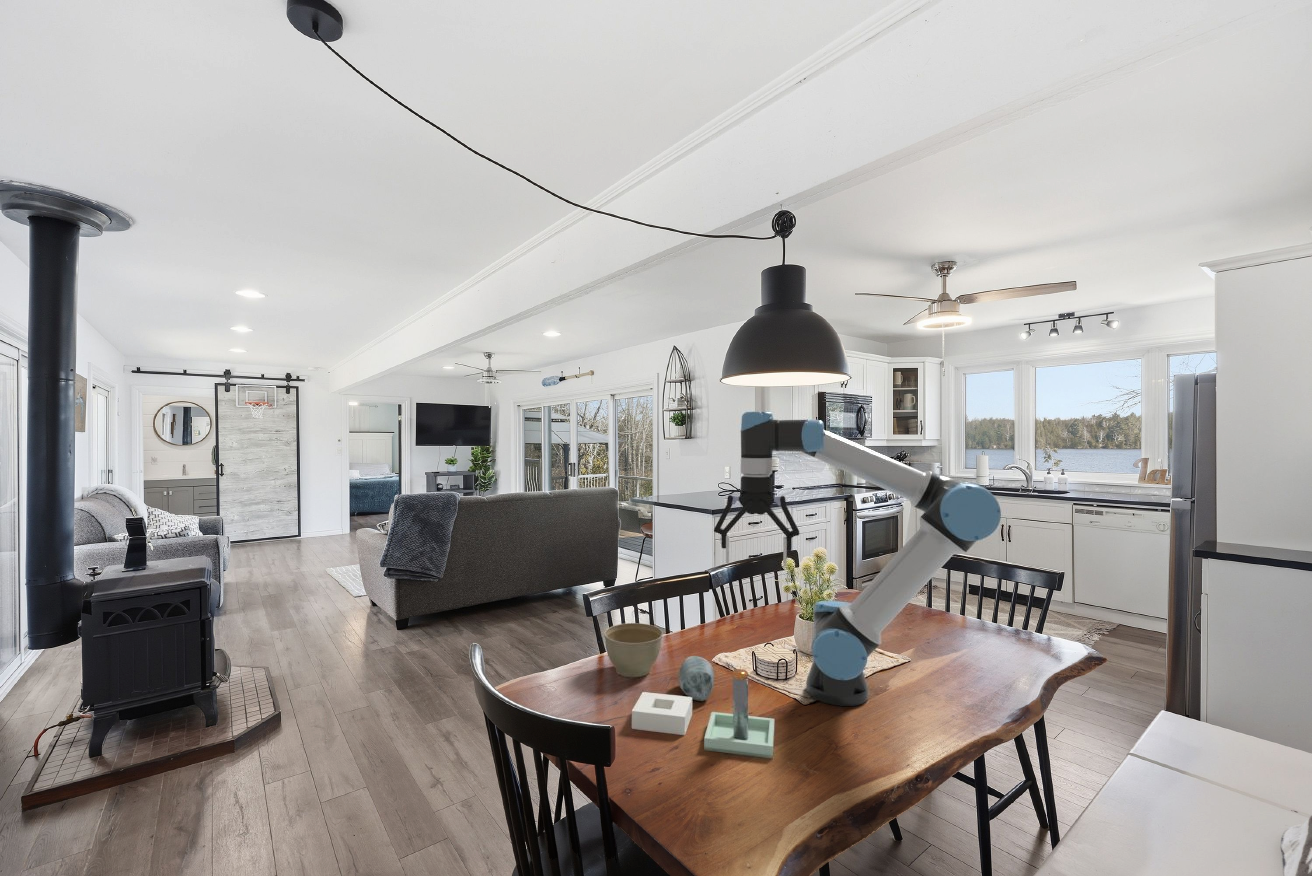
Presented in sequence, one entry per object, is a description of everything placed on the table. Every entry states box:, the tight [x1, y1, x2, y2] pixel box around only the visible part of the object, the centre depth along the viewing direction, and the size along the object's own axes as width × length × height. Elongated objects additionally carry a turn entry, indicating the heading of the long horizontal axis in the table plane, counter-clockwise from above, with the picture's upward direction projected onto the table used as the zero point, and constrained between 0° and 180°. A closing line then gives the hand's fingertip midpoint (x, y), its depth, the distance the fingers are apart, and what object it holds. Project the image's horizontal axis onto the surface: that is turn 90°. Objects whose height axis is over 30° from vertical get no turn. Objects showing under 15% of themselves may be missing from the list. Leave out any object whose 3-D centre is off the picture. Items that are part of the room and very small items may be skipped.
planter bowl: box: [603, 622, 664, 678], centre depth 164 cm, size 16×16×11 cm
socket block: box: [631, 691, 693, 736], centre depth 135 cm, size 12×10×4 cm
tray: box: [703, 711, 775, 760], centre depth 127 cm, size 14×12×2 cm
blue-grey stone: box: [677, 655, 715, 702], centre depth 151 cm, size 14×10×10 cm
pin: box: [732, 668, 749, 740], centre depth 127 cm, size 3×3×14 cm
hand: (756, 563), depth 143 cm, fingers open, 13 cm apart
